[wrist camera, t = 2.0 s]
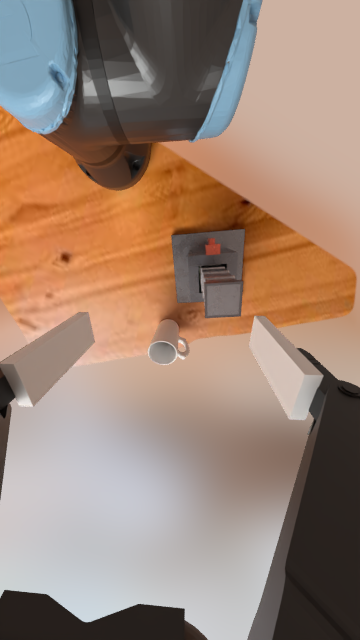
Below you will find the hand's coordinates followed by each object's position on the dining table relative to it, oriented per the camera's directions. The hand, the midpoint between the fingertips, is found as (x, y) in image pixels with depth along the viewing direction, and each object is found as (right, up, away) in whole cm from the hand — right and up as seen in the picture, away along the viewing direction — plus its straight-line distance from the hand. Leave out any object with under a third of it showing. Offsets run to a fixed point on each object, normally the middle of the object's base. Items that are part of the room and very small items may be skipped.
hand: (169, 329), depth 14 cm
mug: (-1, -2, +38) cm, 38 cm away
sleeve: (+8, +13, +30) cm, 33 cm away
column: (+7, +13, +28) cm, 32 cm away
